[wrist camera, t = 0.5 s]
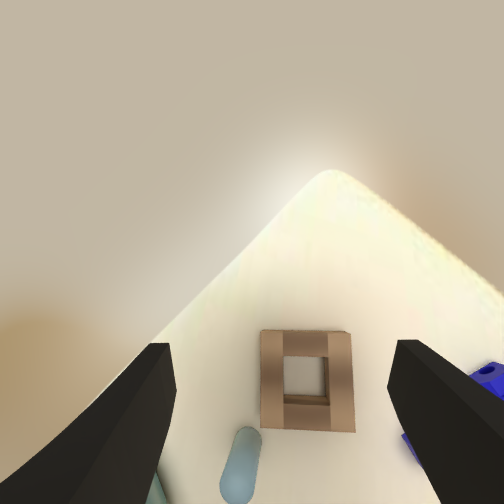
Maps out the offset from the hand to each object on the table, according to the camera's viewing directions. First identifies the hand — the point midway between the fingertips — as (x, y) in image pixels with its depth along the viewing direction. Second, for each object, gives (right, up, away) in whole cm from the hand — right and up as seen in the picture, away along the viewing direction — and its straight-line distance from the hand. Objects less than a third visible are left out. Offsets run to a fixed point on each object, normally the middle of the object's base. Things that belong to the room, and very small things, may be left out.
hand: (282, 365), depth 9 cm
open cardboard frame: (+5, -10, +22) cm, 25 cm away
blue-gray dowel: (-1, -17, +22) cm, 27 cm away
